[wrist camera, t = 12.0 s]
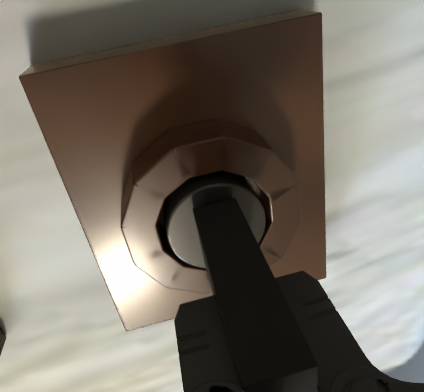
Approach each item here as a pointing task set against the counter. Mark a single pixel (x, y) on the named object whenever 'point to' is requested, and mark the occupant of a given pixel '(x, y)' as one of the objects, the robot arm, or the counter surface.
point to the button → (200, 196)
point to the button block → (188, 147)
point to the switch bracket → (2, 340)
